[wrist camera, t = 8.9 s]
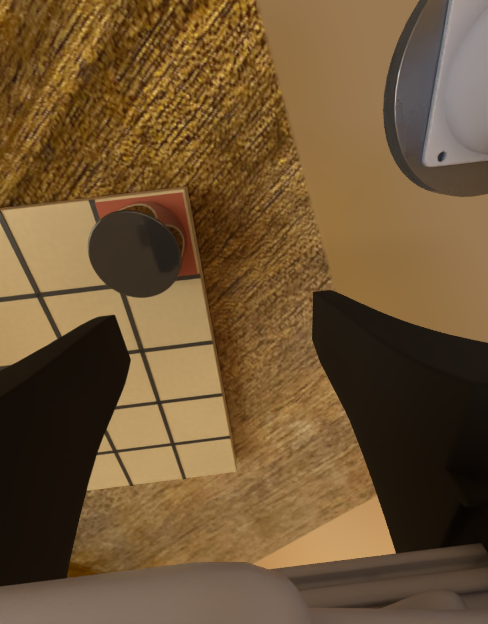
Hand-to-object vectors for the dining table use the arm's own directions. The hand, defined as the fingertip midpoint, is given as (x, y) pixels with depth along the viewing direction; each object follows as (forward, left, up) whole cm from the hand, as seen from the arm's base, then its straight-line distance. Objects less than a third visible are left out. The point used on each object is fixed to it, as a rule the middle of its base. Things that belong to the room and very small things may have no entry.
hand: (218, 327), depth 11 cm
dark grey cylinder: (+4, -2, -8) cm, 9 cm away
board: (+11, +8, -9) cm, 17 cm away
